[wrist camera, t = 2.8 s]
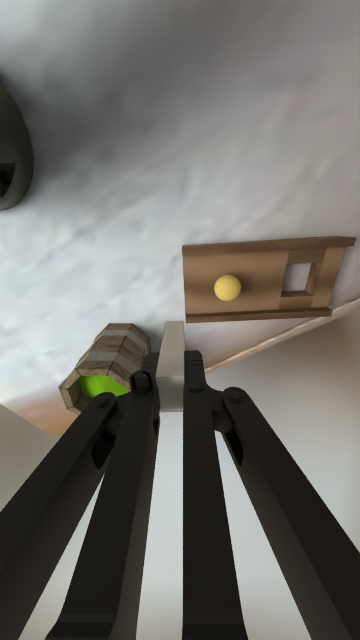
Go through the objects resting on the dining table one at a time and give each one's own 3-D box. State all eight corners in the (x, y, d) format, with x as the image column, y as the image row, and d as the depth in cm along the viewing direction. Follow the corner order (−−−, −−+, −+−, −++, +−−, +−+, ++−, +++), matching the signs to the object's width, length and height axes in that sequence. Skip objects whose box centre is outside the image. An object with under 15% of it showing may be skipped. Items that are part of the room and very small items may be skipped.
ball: (212, 272, 27) (216, 279, 24) (238, 271, 27) (245, 277, 24) (212, 296, 29) (216, 305, 26) (236, 295, 29) (243, 304, 26)
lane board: (182, 245, 28) (182, 248, 25) (335, 236, 27) (356, 237, 24) (185, 313, 33) (185, 323, 30) (315, 307, 32) (330, 316, 29)
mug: (102, 312, 33) (63, 355, 22) (160, 333, 35) (151, 382, 24) (85, 376, 40) (50, 433, 29) (136, 391, 41) (120, 449, 31)
